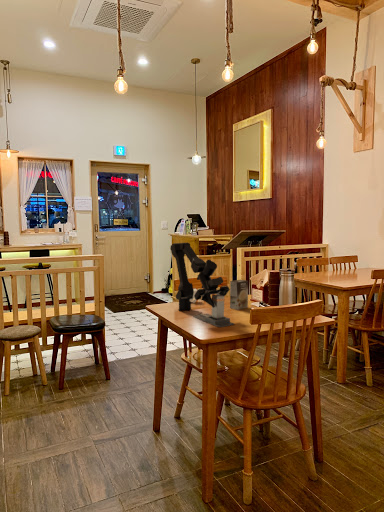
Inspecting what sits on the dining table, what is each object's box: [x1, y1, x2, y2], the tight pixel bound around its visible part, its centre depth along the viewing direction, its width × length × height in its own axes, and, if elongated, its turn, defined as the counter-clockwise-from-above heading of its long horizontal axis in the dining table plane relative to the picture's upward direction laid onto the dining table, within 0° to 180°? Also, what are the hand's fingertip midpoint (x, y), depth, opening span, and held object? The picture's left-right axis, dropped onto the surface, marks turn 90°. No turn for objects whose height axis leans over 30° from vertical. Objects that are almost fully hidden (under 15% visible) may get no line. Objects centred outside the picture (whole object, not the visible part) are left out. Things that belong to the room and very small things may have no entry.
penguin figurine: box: [190, 288, 198, 304], centre depth 236 cm, size 6×8×12 cm
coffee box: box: [229, 279, 249, 311], centre depth 219 cm, size 9×6×16 cm
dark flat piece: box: [192, 313, 235, 328], centre depth 192 cm, size 24×9×2 cm, turn 31°
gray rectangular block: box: [211, 294, 226, 320], centre depth 188 cm, size 5×5×13 cm
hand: (218, 306), depth 187 cm, fingers open, 5 cm apart
